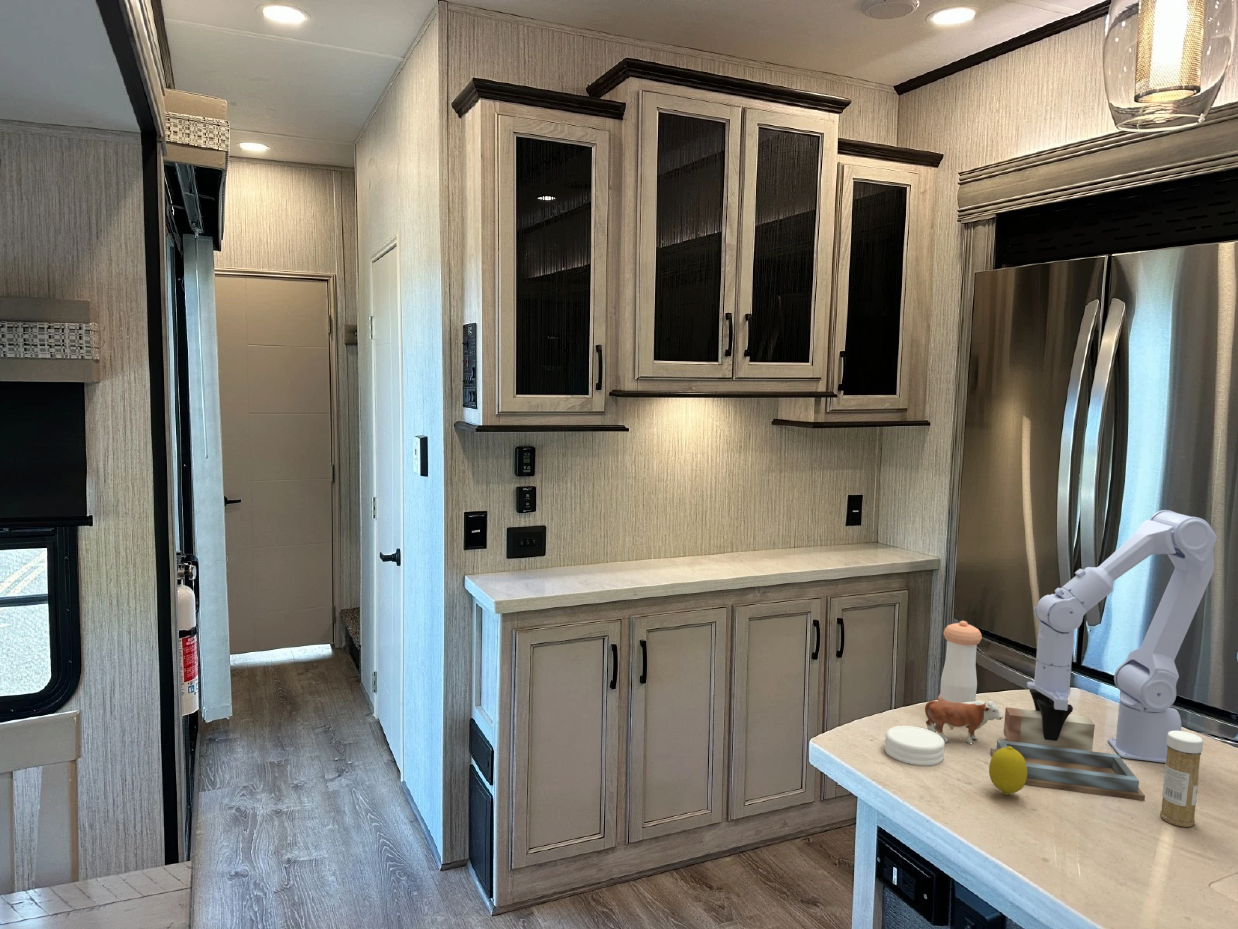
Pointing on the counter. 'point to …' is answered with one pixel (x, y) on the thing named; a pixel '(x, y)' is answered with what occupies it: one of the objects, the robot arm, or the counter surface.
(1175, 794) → the spice jar
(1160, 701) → the robot arm
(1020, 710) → the two-tone wooden block
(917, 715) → the counter surface
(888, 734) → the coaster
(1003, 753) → the lemon
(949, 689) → the pepper shaker
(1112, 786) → the tray
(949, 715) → the bull figurine
